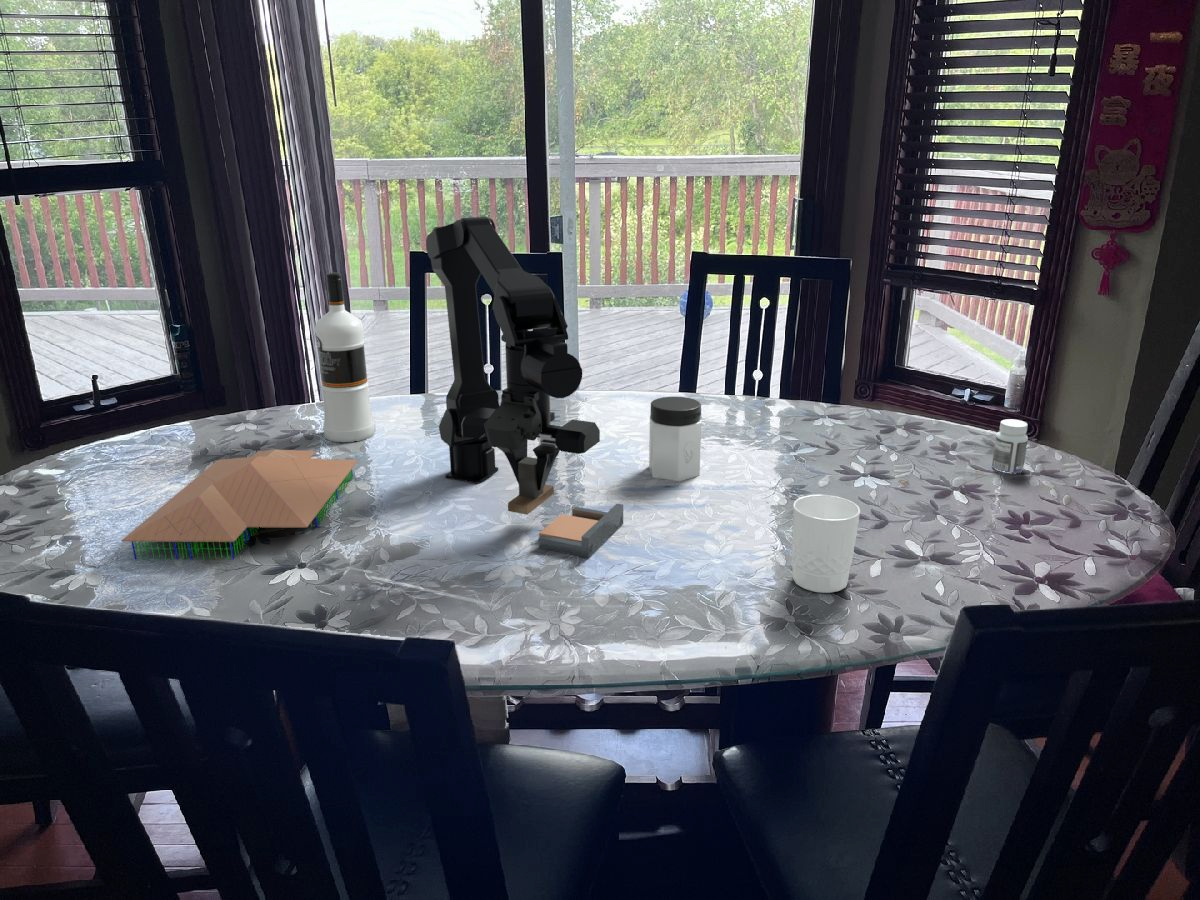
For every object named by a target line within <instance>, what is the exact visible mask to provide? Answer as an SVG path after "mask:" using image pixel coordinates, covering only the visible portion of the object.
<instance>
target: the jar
mask: <svg viewBox="0 0 1200 900" xmlns="http://www.w3.org/2000/svg"><path fill="white" fill-rule="evenodd" d="M701 415H702V404H701V402H700V401H698V400H697V399H694V398H690V397H684V396H663V397H658V398H656V399H653V400H652V401H651V402H650V415H649V445H648V447H649V450H648V454H649V455H648V456H649V457H648V468H649V471H650V474H651V477H652V478H656V479H662V480H668V481H672V482H681V481H684V480H685V481H686V480H688V479H693V478H696V477H699V476H700V473H701V471H700V470H701V448H702V446H701V445H702V444H701V443H702V442H701V441H702V421H701V417H702V416H701Z"/></svg>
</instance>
